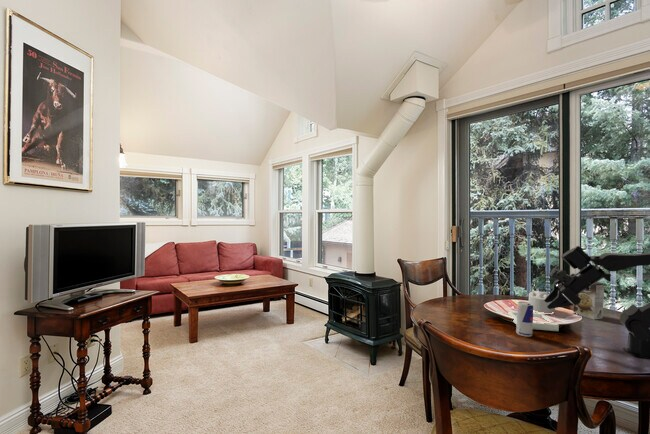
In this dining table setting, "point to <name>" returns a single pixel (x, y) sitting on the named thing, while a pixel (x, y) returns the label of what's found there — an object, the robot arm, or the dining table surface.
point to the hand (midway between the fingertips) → (546, 304)
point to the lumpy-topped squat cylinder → (540, 302)
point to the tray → (538, 325)
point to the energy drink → (524, 319)
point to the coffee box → (591, 302)
